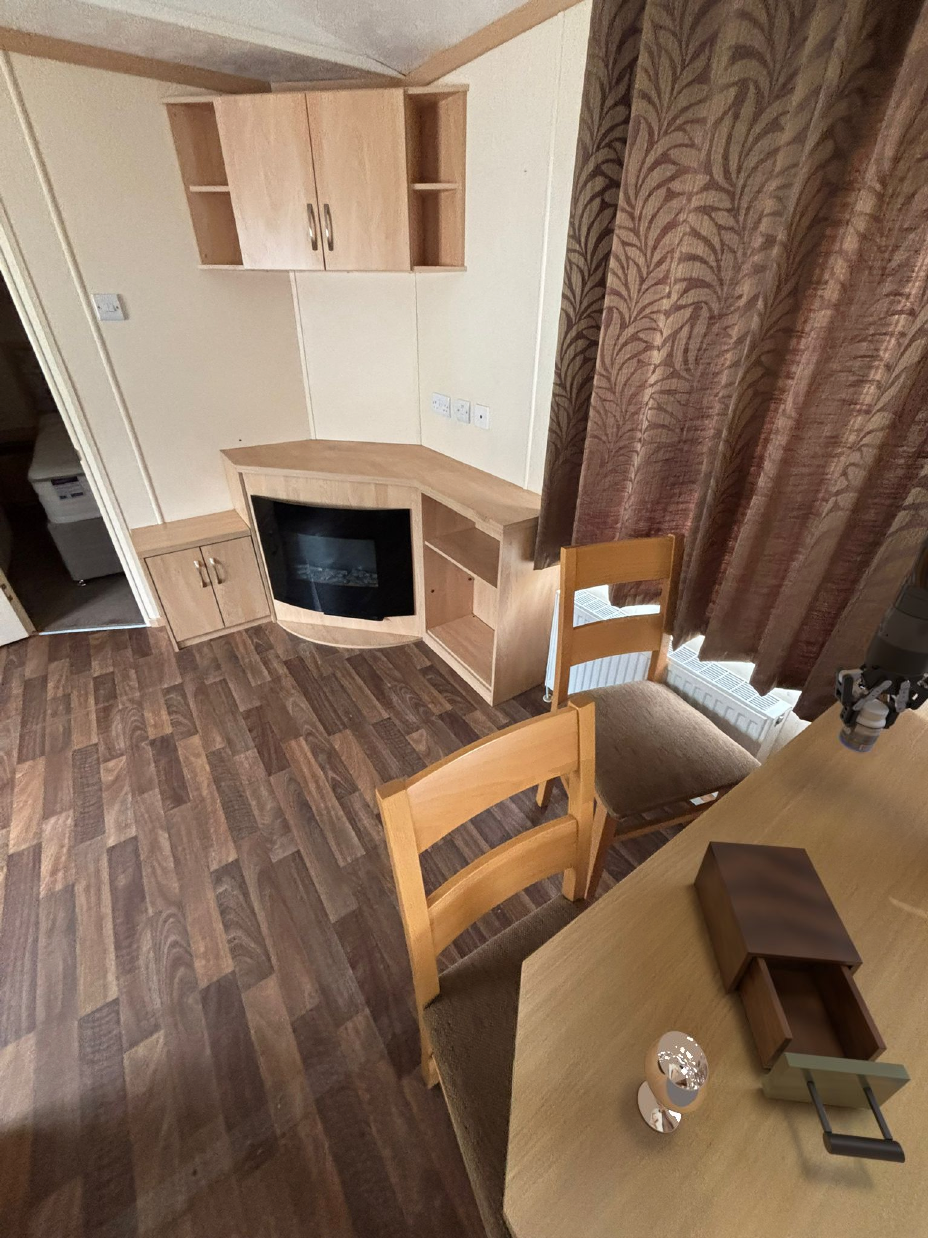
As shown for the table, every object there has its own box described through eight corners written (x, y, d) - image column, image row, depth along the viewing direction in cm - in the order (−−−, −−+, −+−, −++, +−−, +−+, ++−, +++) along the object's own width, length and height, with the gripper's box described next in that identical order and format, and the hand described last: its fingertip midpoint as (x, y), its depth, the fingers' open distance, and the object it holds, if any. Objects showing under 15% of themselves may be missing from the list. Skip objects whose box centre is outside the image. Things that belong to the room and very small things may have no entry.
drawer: (908, 1182, 51) (949, 1156, 47) (786, 1167, 52) (814, 1139, 48) (816, 971, 67) (840, 937, 63) (724, 962, 68) (741, 928, 64)
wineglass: (621, 1105, 57) (640, 1059, 51) (647, 1058, 60) (668, 1010, 54) (671, 1158, 53) (698, 1116, 47) (696, 1106, 57) (725, 1060, 50)
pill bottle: (837, 730, 89) (855, 691, 85) (870, 740, 87) (891, 701, 83) (837, 747, 86) (855, 708, 81) (871, 758, 84) (893, 719, 79)
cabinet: (831, 1004, 65) (863, 963, 59) (725, 994, 66) (748, 952, 61) (781, 890, 77) (804, 848, 72) (693, 883, 78) (709, 840, 73)
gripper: (870, 648, 73) (828, 738, 82) (982, 653, 71) (927, 744, 80) (842, 620, 79) (806, 706, 88) (945, 624, 78) (897, 711, 87)
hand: (864, 724), depth 84 cm, fingers closed on pill bottle, 4 cm apart
